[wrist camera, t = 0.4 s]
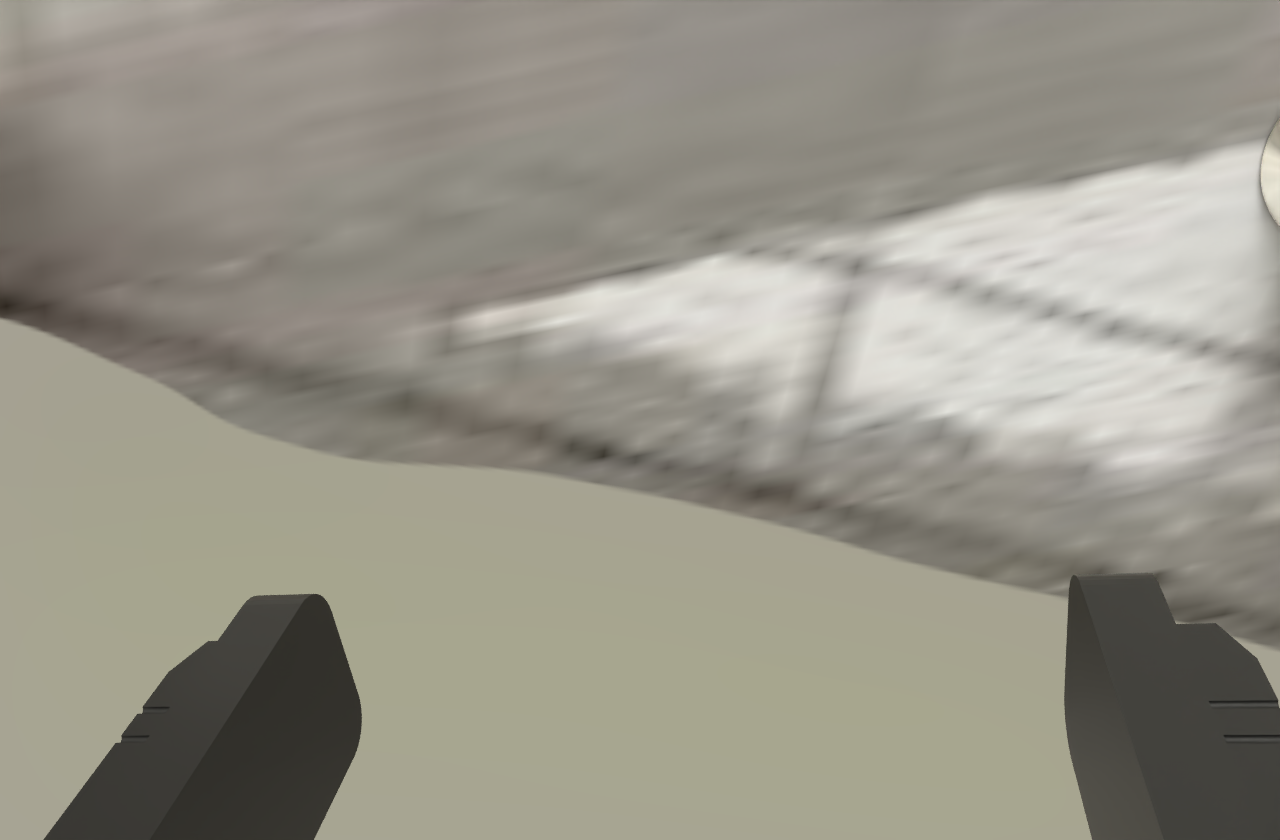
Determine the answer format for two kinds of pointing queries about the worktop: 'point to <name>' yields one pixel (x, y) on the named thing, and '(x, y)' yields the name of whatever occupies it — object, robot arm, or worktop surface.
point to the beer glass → (1272, 173)
